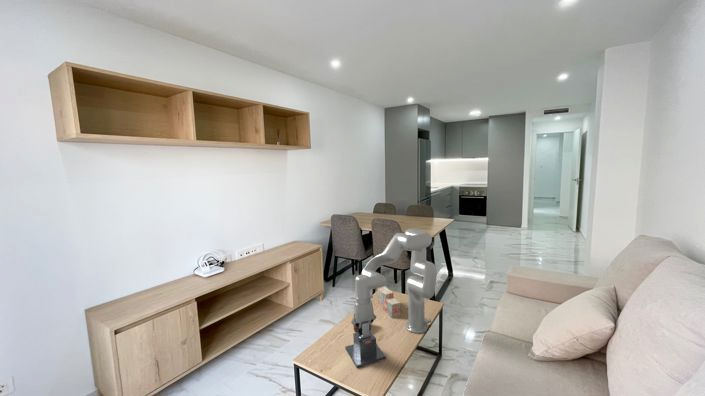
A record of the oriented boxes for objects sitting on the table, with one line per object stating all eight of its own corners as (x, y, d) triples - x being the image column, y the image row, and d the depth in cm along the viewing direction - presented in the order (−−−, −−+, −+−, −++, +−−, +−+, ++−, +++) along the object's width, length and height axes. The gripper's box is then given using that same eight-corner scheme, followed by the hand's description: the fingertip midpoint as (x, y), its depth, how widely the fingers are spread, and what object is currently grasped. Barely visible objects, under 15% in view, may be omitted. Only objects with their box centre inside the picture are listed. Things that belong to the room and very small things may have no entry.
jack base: (372, 341, 160) (371, 324, 158) (385, 358, 145) (385, 340, 144) (345, 349, 154) (344, 331, 153) (356, 368, 139) (356, 348, 138)
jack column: (366, 347, 152) (366, 318, 150) (370, 351, 148) (369, 322, 146) (359, 349, 150) (358, 320, 148) (362, 353, 146) (361, 324, 145)
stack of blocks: (400, 316, 185) (400, 298, 184) (391, 318, 183) (391, 300, 182) (385, 302, 205) (385, 285, 204) (377, 303, 203) (377, 287, 202)
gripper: (374, 293, 152) (375, 325, 154) (345, 299, 146) (346, 333, 148) (381, 299, 146) (382, 332, 148) (350, 306, 139) (352, 341, 141)
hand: (364, 332), depth 148 cm, fingers closed on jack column, 4 cm apart
